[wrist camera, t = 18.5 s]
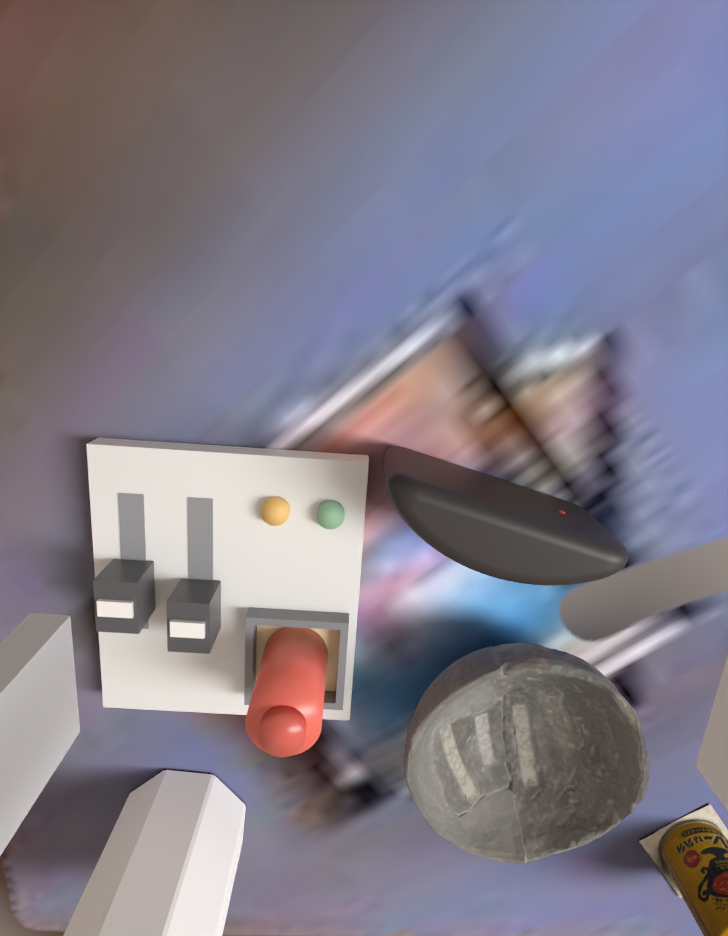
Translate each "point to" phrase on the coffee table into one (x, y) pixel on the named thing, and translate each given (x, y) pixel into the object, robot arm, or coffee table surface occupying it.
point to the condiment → (696, 865)
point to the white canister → (166, 861)
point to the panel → (229, 562)
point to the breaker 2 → (193, 616)
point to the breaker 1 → (124, 596)
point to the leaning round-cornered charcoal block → (499, 523)
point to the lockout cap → (289, 693)
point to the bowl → (524, 753)
